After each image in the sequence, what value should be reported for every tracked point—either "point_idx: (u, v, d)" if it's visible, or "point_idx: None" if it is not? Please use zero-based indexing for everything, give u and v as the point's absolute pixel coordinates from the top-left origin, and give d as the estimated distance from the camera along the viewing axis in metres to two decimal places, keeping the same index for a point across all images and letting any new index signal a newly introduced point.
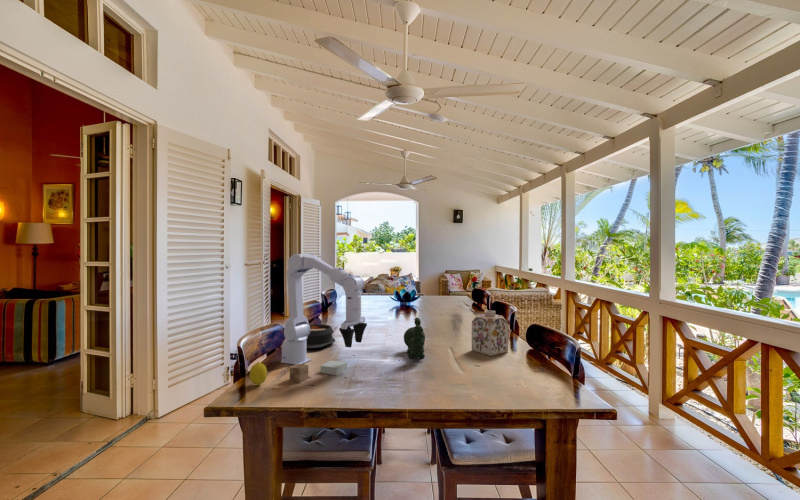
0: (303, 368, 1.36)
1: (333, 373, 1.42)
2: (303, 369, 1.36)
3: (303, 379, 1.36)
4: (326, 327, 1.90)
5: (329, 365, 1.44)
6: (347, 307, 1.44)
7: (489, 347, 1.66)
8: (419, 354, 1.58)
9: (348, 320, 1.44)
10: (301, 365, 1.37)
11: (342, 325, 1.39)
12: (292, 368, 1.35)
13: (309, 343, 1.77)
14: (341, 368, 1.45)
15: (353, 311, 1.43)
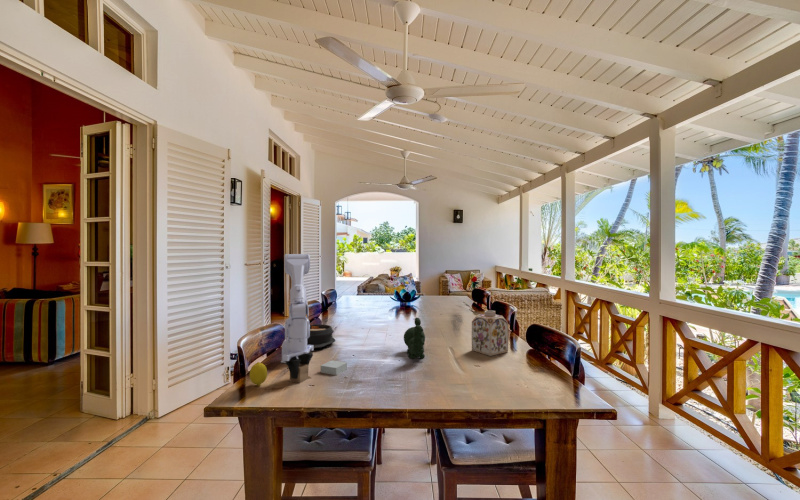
0: (303, 368, 1.36)
1: (333, 373, 1.42)
2: (303, 369, 1.36)
3: (303, 379, 1.36)
4: (326, 327, 1.90)
5: (329, 365, 1.44)
6: None
7: (489, 347, 1.66)
8: (419, 354, 1.58)
9: (292, 350, 1.34)
10: (301, 365, 1.37)
11: (284, 357, 1.30)
12: None
13: (309, 343, 1.77)
14: (341, 368, 1.45)
15: (297, 341, 1.34)
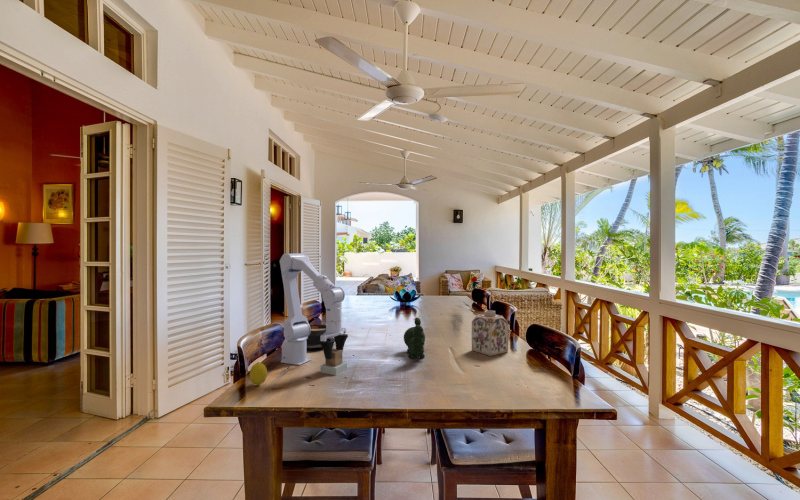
0: (338, 353, 1.45)
1: (333, 374, 1.42)
2: (338, 353, 1.45)
3: (338, 363, 1.45)
4: None
5: (329, 366, 1.44)
6: (326, 319, 1.45)
7: (489, 347, 1.66)
8: (419, 354, 1.58)
9: (328, 332, 1.44)
10: (335, 350, 1.47)
11: (321, 337, 1.40)
12: None
13: (309, 343, 1.77)
14: (341, 368, 1.45)
15: (333, 323, 1.43)
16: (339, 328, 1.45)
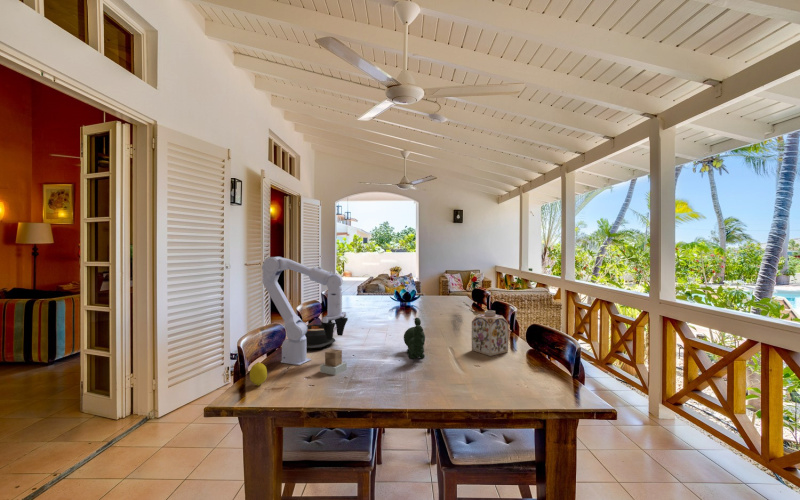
0: (338, 353, 1.45)
1: (332, 373, 1.42)
2: (338, 354, 1.45)
3: (338, 363, 1.45)
4: None
5: None
6: (331, 303, 1.55)
7: (489, 347, 1.66)
8: (419, 354, 1.58)
9: (329, 315, 1.55)
10: (335, 350, 1.47)
11: (323, 319, 1.51)
12: (327, 353, 1.44)
13: (309, 343, 1.77)
14: (340, 368, 1.45)
15: (334, 306, 1.55)
16: (340, 311, 1.56)
